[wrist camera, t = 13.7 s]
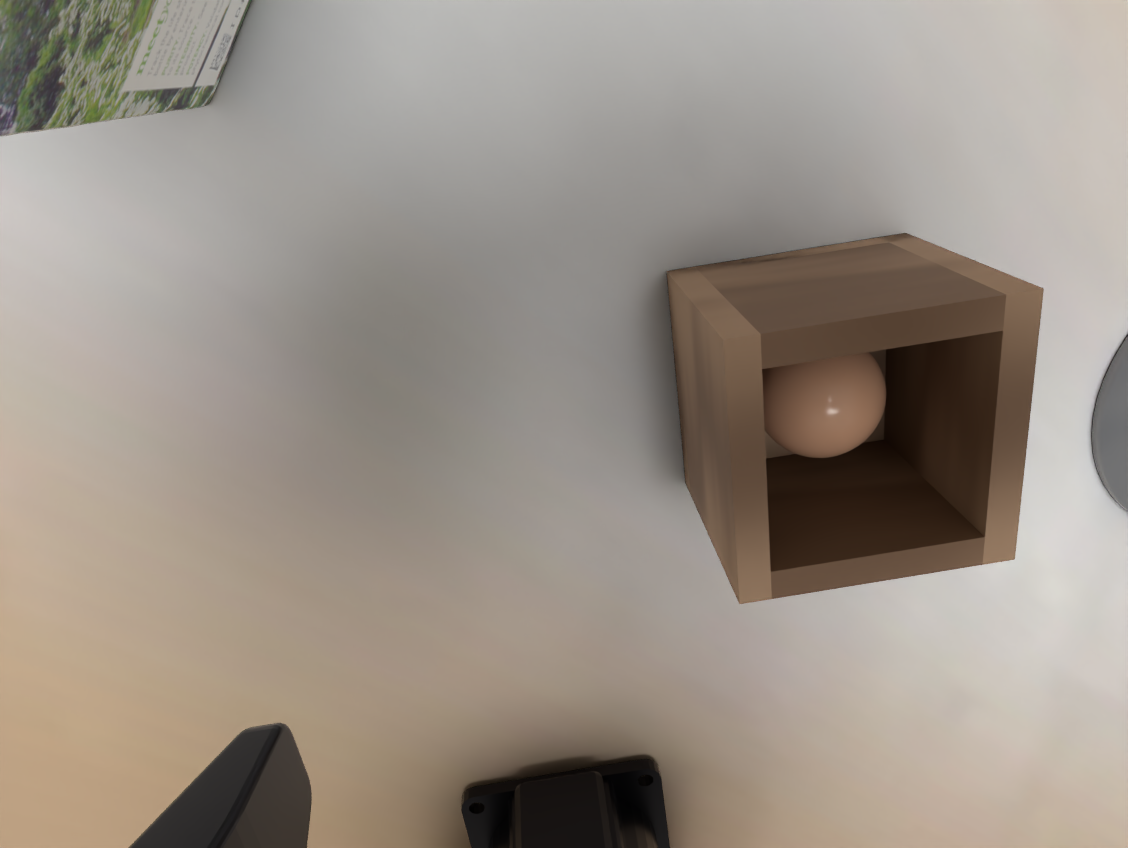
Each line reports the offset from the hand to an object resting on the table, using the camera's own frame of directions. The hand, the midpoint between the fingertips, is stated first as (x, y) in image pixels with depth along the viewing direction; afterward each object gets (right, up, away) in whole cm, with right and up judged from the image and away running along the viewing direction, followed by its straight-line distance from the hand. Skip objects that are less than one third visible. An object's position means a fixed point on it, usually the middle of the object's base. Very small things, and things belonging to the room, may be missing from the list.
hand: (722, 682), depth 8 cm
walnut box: (+4, +4, +13) cm, 14 cm away
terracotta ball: (+4, +3, +11) cm, 12 cm away
